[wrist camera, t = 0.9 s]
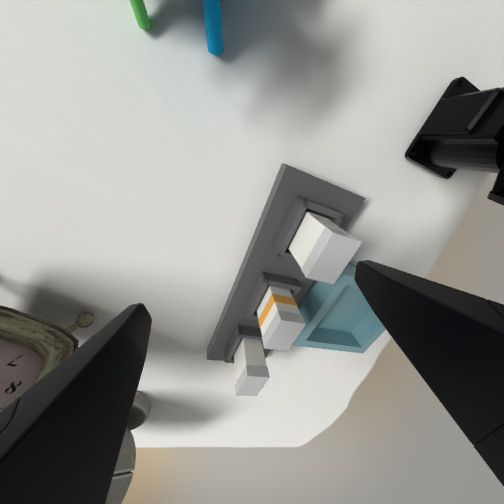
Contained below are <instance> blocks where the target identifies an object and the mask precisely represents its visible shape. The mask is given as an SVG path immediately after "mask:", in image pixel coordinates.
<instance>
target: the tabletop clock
mask: <svg viewBox="0 0 504 504" xmlns="http://www.w3.org/2000/svg"><path fill="white" fill-rule="evenodd" d="M93 320H94V316H93V315H92V314H90V313H83V314H81V315H80V316H79V317H78V318H77V320H76V324H74V325H72V326H70V327H69V328H67V329H65V330H64V329H62V328H61V327H58V326H56V325H53V324H51V323H49V322H46V321H43V320H41V319H38V318H35V317H33V316H30V315H27V314H25V313H22V312H20V311H17V310H14V309H12V308H8V307H4V306H0V412H1V411H2V410H3V409H5V408H6V407H7V406H8V405H9V404H11V403H12V402H13V401H14V400H16V399H17V398H18V397H21V395H22V394H23V393H24V392H25V391H27V390H28V389H29V388H30V387H31V386H33V385H34V384H35V383H36V382H38V381H39V380H40V379H41V378H42V377H44V376H45V375H46V374H47V373H48V372H50V371H51V370H52V369H53V368H55V367H56V366H57V365H58V364H59V363H61V362H62V361H63V360H64V359H65V358H67V357H68V356H69V355H70V354H72V353H73V352H74V351H75V350H76V349H78V343H79V341H78V340H77V339H76V338H75V337H74V336H73V335H71V334H70V333H72V332H73V331H74V330H75V329H77V328H78V327H81V328H85V327H88V326H89V325H91V324H92V322H93Z"/></svg>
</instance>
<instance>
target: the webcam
mask: <svg viewBox="0 0 504 504" xmlns="http://www.w3.org/2000/svg"><path fill="white" fill-rule="evenodd" d="M150 408H151V402H150V400H149V399H148V398H147V397H146V396H145V395H144V394H142V393H140V392H138V391H136V395H135V399H134V402H133V406H132V409H131V413H130V417H129V420H128V424H127V427H126V431H125V435H124V438H123V442H122V445H121V449H120V453H119V456H118V460H117V463H116V467H115V471H114V474H113V478H112V482H111V485H110V489H109V492H108V496H107V500H106V503H105V504H121V503H122V500H123V499H124V497H125V495H126V492H127V490H128V487H129V485H130V482H131V479H132V476H133V472H130V471H133V470H134V468H135V459H136V451H135V450H136V449H135V442H134V438H133V436H132V433H131V431H130V430H132V429H135V428H137V427H139V426H140V425H141V424H143V423H144V422H145V420H146V419H147V417H148V415H149V412H150Z"/></svg>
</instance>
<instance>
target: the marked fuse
mask: <svg viewBox="0 0 504 504" xmlns="http://www.w3.org/2000/svg"><path fill="white" fill-rule="evenodd" d="M256 312H257V315H258V321H259V326H260V329H261V333H262V341H263V346H264V348H265V349H274V350H284V351H288V350H289V348H290V347H291V345H292V344H293V342H294V341H295V340H296V338H297V337H298V335H299V334H300V332H301V331H302V329H303V328H304V327H305V325H306V323H305V321H304V318H303V316H302V314H300V312H299V309H298V307H297V304H296V302H295V300H294V298H293V297H292V294H291V292H290V289H286V288H281V287H277V286H272V285H268V286H267V288H266V290H265V292H264V294H263V296H262V298H261V300H260V302H259V304H258V306H257V308H256Z"/></svg>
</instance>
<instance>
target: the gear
mask: <svg viewBox="0 0 504 504" xmlns="http://www.w3.org/2000/svg"><path fill="white" fill-rule="evenodd" d="M130 2H131V5H132V8H133V11H134V13H135V16H136V19H137V22H138V25H139V27H140V28H141V29H148V28H150V27H151V24H150V21H149V18H148V15H147V12H146V8H145V5H144V2H143V0H130ZM203 8H204V17H205V26H206V34H207V43H208V51H209V52H210V53H211V54H214V55H219V54H221V53H222V52H223V42H222V24H221V7H220V0H203Z"/></svg>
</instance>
